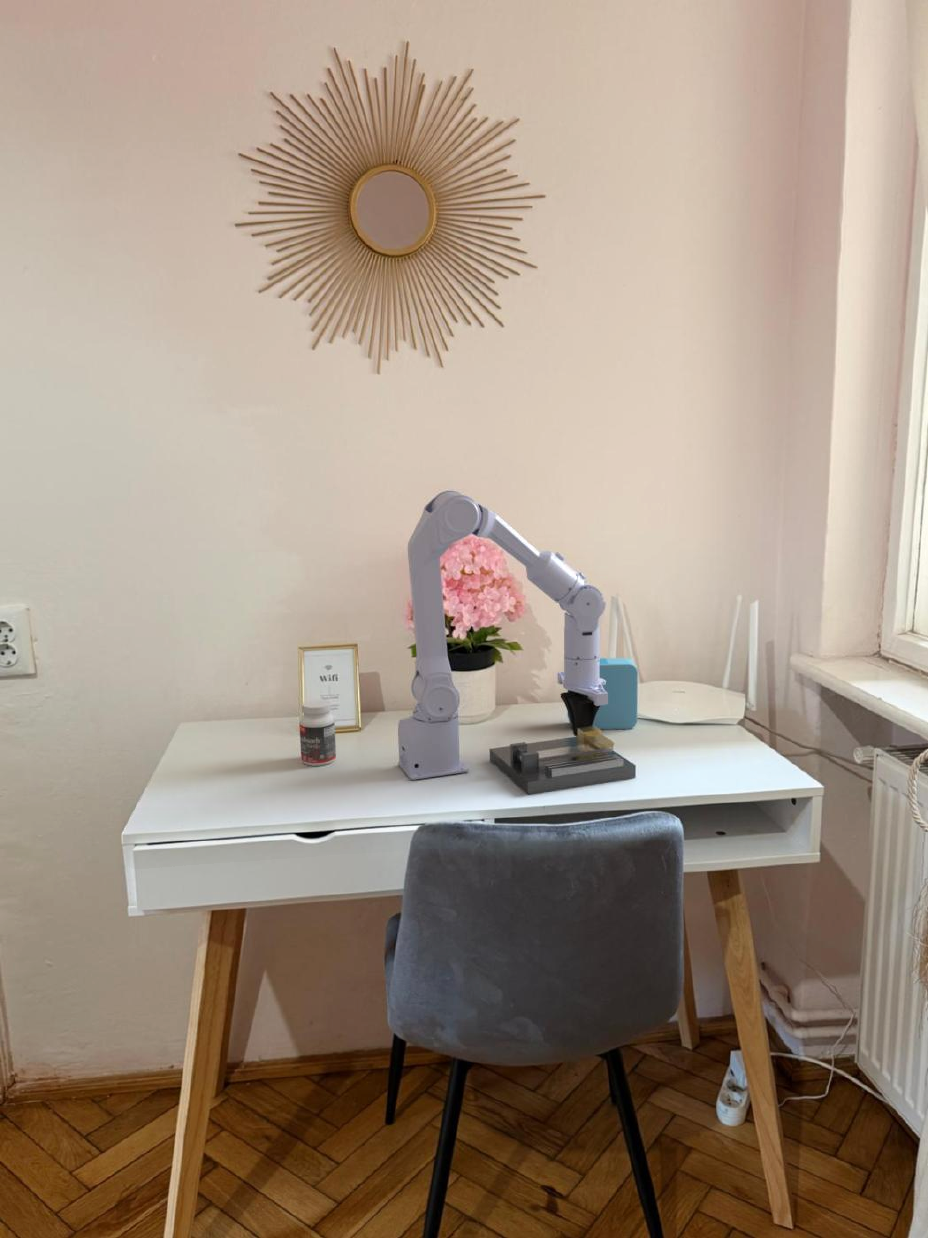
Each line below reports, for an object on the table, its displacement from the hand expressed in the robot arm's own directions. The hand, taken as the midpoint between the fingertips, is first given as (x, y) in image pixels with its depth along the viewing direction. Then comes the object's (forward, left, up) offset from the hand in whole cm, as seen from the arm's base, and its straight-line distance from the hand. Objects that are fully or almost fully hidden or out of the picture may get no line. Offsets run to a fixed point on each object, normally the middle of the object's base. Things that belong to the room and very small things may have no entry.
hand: (581, 736), depth 165 cm
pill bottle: (-41, +14, -3) cm, 44 cm away
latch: (0, -5, -1) cm, 5 cm away
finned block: (-6, -5, -3) cm, 8 cm away
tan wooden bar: (-6, -7, -1) cm, 9 cm away
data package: (+10, +12, -3) cm, 16 cm away
